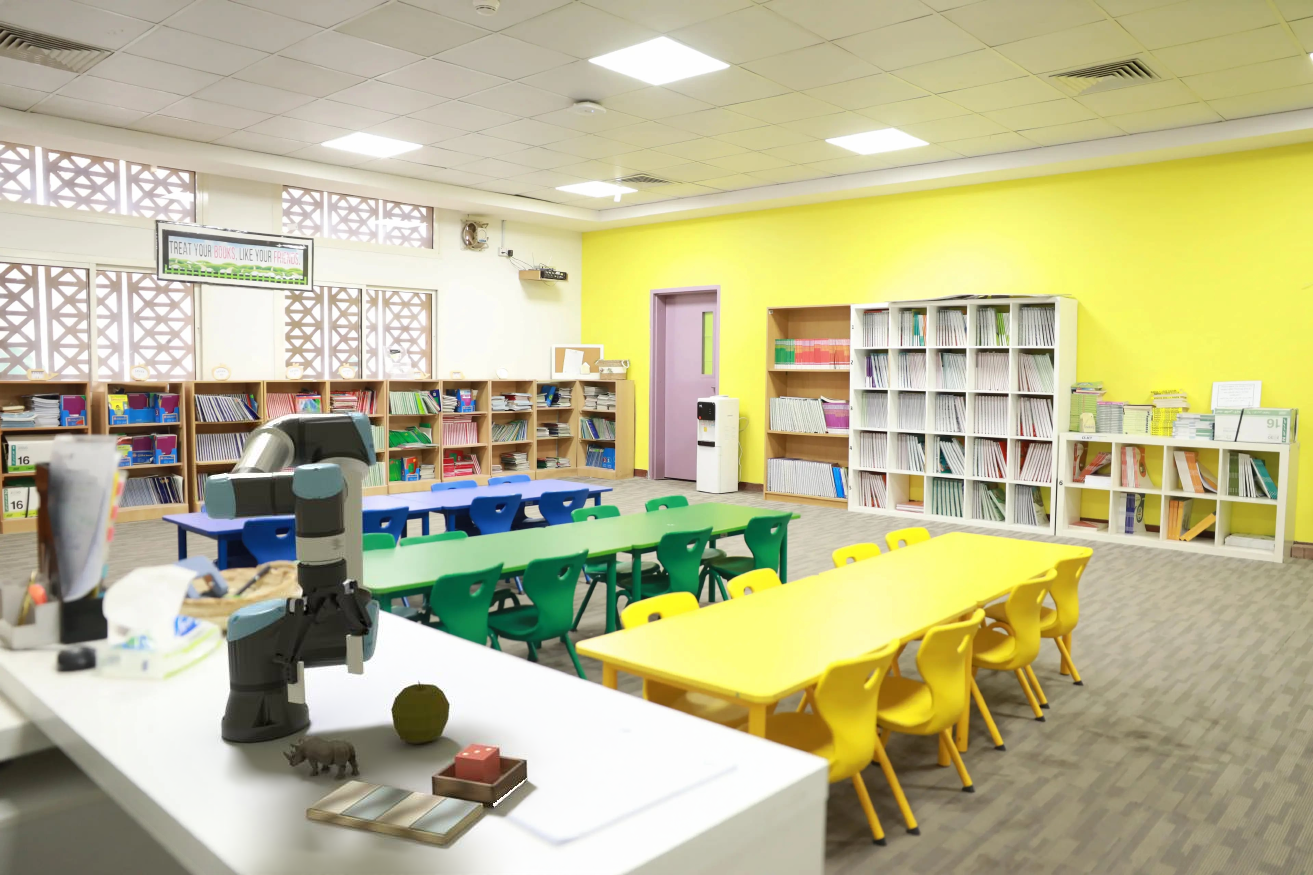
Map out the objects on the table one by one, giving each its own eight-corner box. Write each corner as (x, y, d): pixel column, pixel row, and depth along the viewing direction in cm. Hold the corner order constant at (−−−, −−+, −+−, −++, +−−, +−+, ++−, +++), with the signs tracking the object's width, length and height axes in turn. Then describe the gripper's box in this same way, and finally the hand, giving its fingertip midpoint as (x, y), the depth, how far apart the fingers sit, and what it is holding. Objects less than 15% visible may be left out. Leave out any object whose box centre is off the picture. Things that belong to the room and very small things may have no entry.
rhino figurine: (293, 763, 150) (291, 729, 150) (364, 771, 146) (362, 736, 146) (276, 774, 146) (275, 738, 146) (348, 782, 142) (347, 746, 142)
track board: (306, 817, 131) (306, 808, 131) (352, 787, 140) (352, 779, 140) (443, 844, 122) (443, 834, 122) (483, 811, 132) (482, 802, 132)
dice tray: (432, 797, 137) (431, 776, 136) (468, 770, 146) (467, 750, 146) (494, 808, 133) (493, 786, 132) (527, 779, 142) (526, 759, 142)
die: (456, 787, 138) (454, 756, 137) (472, 773, 142) (471, 743, 142) (484, 791, 136) (483, 760, 136) (500, 777, 141) (499, 747, 140)
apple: (396, 755, 152) (393, 693, 152) (389, 735, 161) (387, 676, 161) (454, 745, 156) (452, 684, 156) (445, 726, 165) (442, 668, 165)
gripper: (281, 579, 130) (288, 718, 132) (390, 545, 154) (394, 664, 155) (242, 575, 133) (250, 712, 135) (355, 542, 156) (360, 660, 158)
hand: (327, 687), depth 145 cm, fingers open, 13 cm apart
